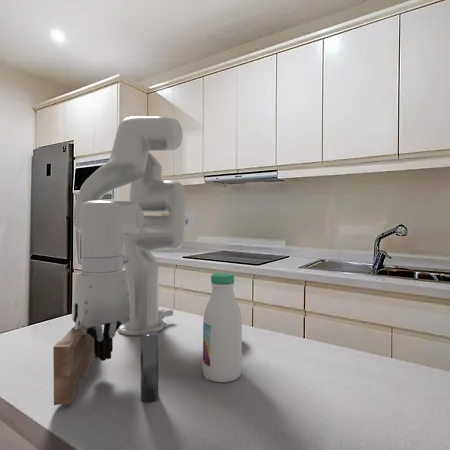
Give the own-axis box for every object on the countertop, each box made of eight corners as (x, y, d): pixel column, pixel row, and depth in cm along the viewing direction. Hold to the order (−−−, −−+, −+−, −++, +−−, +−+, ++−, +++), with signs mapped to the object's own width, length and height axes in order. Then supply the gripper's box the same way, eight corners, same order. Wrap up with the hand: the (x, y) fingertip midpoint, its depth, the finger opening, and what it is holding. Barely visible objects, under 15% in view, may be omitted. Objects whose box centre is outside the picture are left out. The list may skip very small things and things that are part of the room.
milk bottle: (246, 368, 67) (246, 272, 67) (235, 386, 60) (235, 278, 59) (211, 362, 70) (211, 270, 69) (196, 379, 62) (196, 276, 62)
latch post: (152, 391, 58) (152, 330, 58) (161, 397, 56) (161, 334, 56) (137, 397, 56) (137, 334, 56) (146, 404, 54) (146, 339, 54)
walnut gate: (97, 354, 71) (97, 311, 71) (69, 403, 52) (69, 346, 52) (86, 355, 71) (86, 312, 71) (53, 405, 52) (53, 347, 52)
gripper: (128, 258, 71) (129, 341, 72) (54, 266, 60) (56, 363, 61) (146, 262, 65) (147, 352, 66) (69, 272, 55) (71, 378, 56)
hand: (103, 357), depth 64 cm, fingers closed
